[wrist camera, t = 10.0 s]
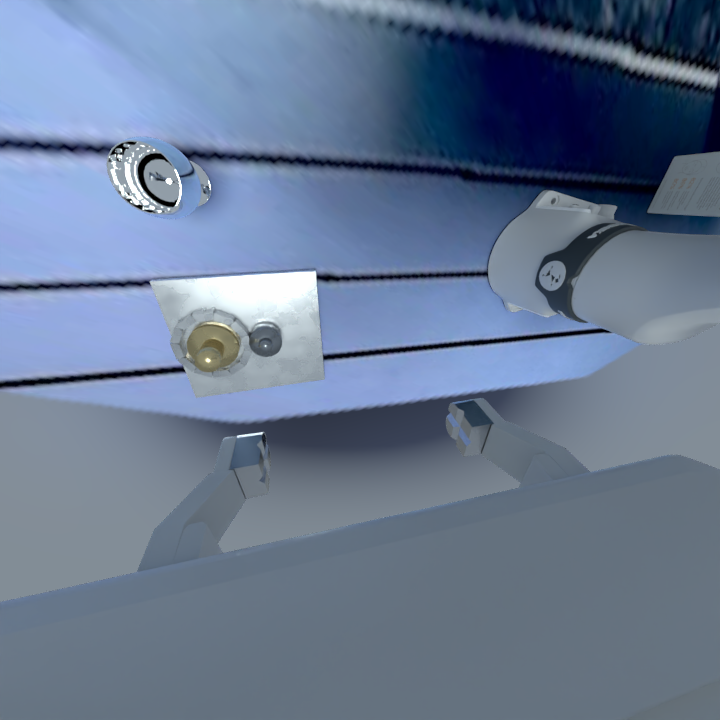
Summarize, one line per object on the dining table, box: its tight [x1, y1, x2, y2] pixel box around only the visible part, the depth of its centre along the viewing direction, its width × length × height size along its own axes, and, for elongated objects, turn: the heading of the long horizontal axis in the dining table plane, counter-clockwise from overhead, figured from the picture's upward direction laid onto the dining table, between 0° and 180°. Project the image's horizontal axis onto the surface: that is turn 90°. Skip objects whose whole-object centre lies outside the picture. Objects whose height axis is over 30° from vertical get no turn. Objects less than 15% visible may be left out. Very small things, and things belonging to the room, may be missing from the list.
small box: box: [647, 152, 720, 216], centre depth 41 cm, size 8×6×10 cm
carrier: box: [150, 269, 325, 398], centre depth 39 cm, size 20×18×4 cm
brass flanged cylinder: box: [187, 322, 240, 372], centre depth 37 cm, size 6×6×6 cm
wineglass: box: [107, 137, 212, 219], centre depth 25 cm, size 6×6×12 cm
